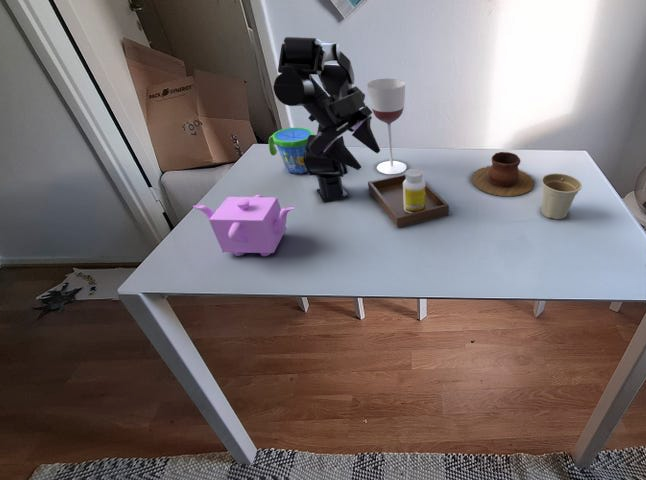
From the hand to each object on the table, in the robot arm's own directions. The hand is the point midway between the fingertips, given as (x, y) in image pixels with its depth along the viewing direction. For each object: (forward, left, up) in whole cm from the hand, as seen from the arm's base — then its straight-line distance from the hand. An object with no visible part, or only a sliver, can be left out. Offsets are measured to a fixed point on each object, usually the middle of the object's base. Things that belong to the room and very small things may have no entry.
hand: (369, 160), depth 87 cm
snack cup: (-31, -11, -14) cm, 36 cm away
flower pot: (+20, +40, -14) cm, 47 cm away
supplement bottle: (+4, +9, -13) cm, 16 cm away
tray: (-1, +9, -14) cm, 16 cm away
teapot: (+2, -27, -14) cm, 31 cm away
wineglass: (-21, +13, -14) cm, 28 cm away
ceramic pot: (0, +38, -14) cm, 40 cm away
